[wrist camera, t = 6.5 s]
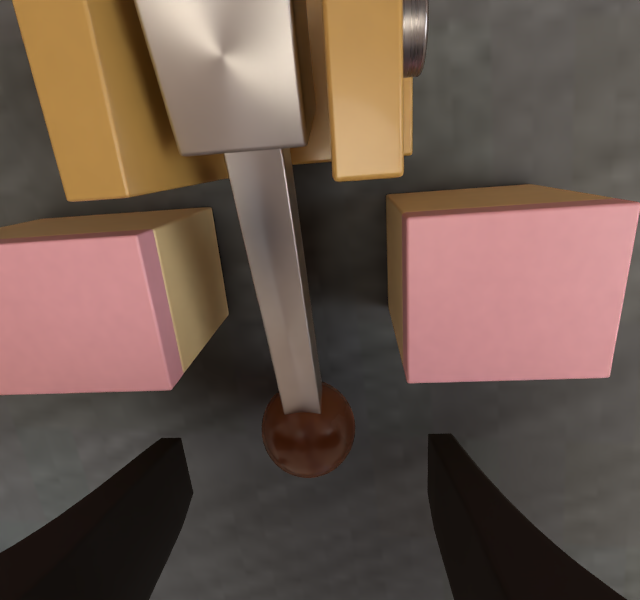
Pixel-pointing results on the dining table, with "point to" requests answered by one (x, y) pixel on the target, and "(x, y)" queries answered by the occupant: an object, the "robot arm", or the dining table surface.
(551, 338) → the cake slice
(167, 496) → the robot arm
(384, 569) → the dining table surface
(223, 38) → the cutter
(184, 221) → the cake
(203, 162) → the stand
